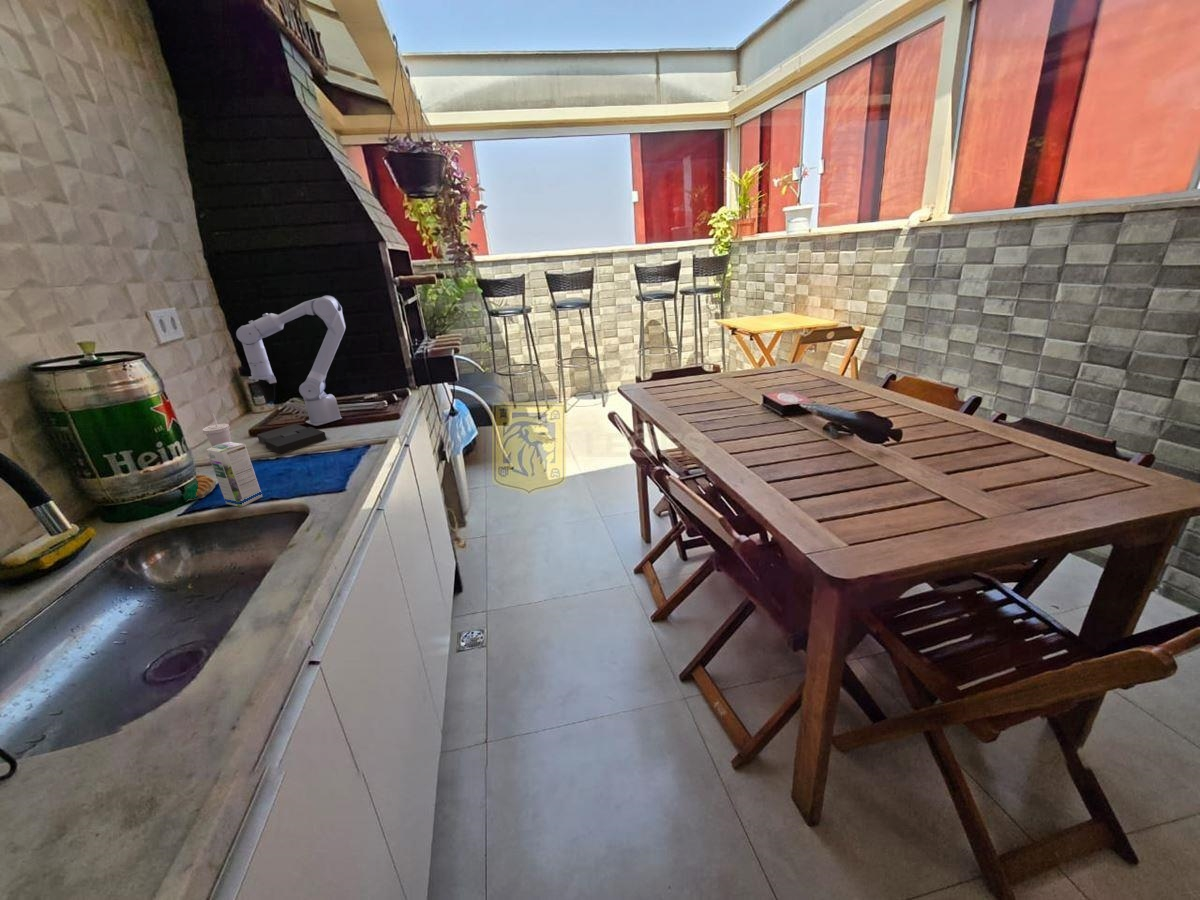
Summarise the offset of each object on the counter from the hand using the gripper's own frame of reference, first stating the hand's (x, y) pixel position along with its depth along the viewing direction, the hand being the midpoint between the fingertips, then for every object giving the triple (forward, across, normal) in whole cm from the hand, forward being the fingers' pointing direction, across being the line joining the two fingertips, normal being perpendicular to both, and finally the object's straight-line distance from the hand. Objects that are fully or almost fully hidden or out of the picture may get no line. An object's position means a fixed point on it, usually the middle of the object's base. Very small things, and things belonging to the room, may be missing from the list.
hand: (271, 401), depth 167 cm
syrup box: (+10, +53, -29) cm, 61 cm away
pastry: (+10, +38, -34) cm, 52 cm away
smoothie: (+10, +16, -21) cm, 28 cm away
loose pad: (+9, +15, -4) cm, 19 cm away
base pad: (+9, +23, -4) cm, 25 cm away
